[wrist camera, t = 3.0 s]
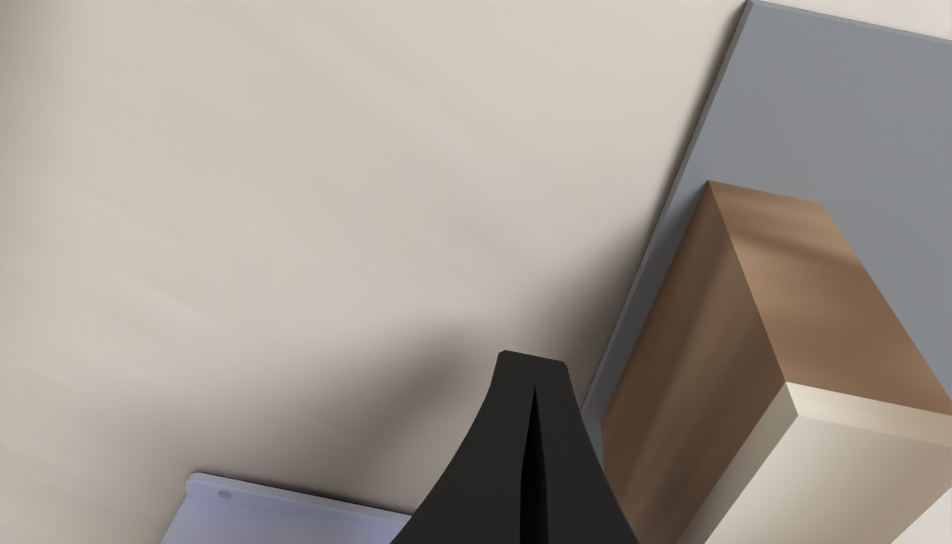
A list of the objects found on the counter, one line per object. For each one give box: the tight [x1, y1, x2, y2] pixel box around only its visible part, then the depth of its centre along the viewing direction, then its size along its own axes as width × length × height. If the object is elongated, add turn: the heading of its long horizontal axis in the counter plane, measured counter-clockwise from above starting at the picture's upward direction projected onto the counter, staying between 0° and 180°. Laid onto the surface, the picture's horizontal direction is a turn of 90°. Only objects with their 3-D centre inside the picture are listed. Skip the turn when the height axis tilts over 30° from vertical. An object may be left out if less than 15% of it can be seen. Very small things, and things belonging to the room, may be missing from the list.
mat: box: [580, 0, 952, 472], centre depth 16 cm, size 10×15×1 cm, turn 170°
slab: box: [601, 180, 952, 544], centre depth 13 cm, size 2×8×6 cm, turn 170°
